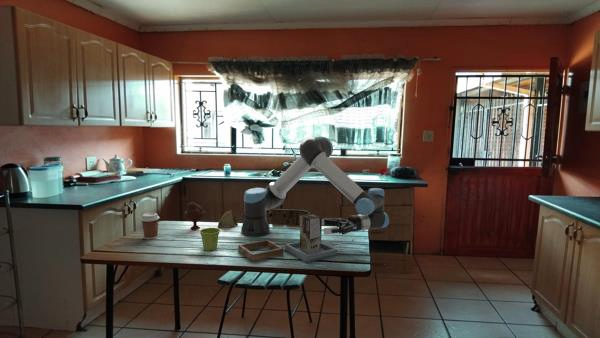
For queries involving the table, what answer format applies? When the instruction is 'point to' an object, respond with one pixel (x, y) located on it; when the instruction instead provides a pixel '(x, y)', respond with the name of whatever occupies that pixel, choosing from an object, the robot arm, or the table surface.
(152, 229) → the coffee cup
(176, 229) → the table surface
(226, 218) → the rock
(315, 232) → the coffee box
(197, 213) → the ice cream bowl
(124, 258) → the table surface
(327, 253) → the tray
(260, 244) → the square wooden frame
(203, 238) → the plant pot
